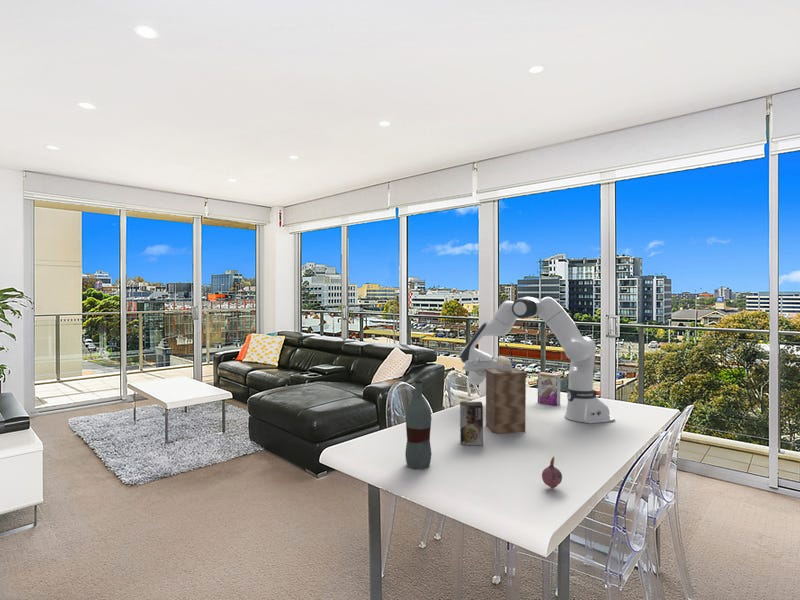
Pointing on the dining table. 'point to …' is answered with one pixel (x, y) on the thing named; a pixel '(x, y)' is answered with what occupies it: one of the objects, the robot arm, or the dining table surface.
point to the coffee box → (471, 423)
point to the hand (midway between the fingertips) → (488, 359)
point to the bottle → (418, 431)
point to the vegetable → (551, 475)
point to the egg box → (502, 364)
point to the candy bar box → (549, 388)
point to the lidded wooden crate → (505, 400)
